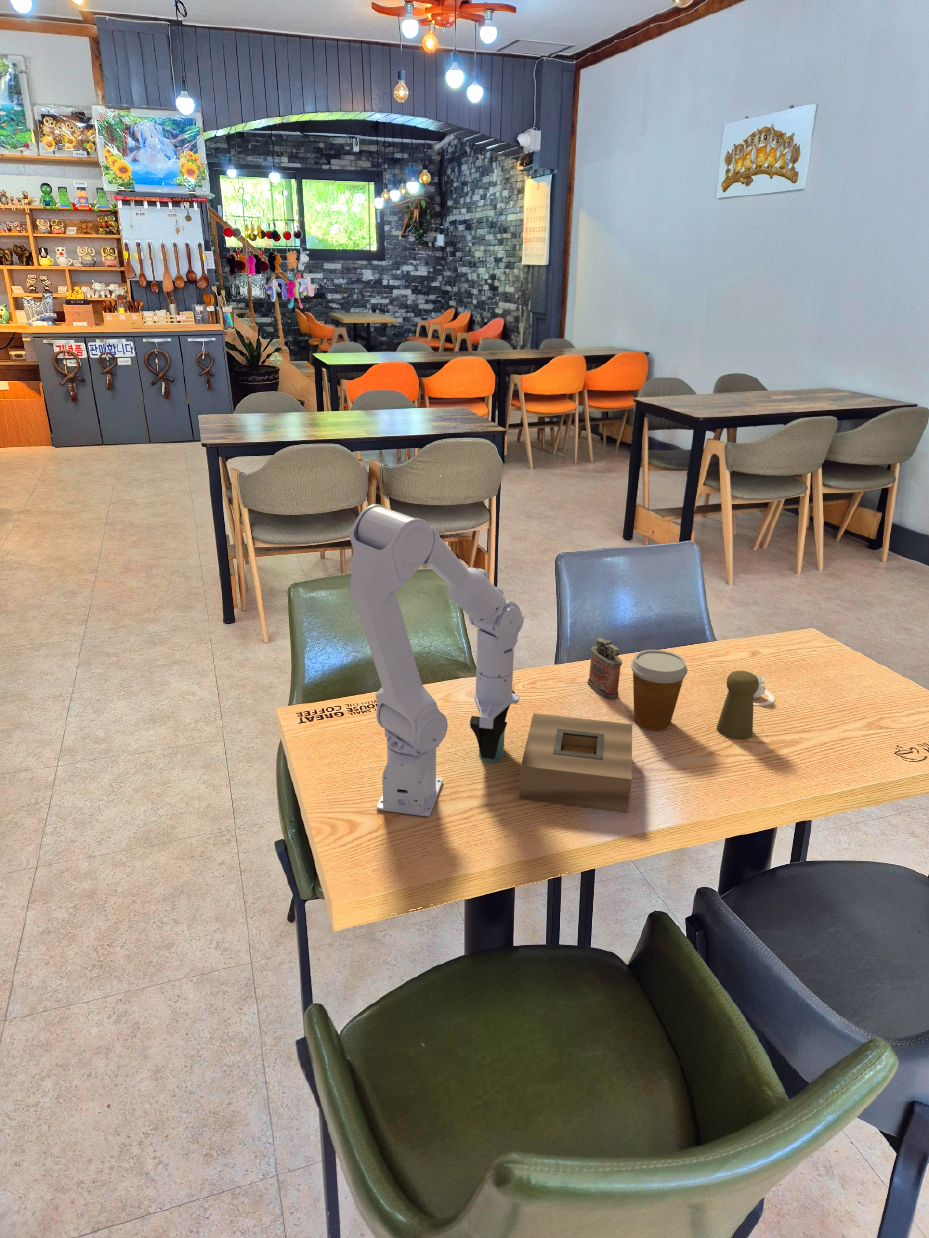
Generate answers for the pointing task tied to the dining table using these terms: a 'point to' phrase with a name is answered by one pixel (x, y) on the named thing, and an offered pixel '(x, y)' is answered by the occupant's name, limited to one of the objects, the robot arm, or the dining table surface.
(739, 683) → the olive green pawn
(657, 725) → the disposable coffee cup
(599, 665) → the lighter
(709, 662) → the dining table surface
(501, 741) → the peg
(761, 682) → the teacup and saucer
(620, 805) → the block
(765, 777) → the dining table surface
